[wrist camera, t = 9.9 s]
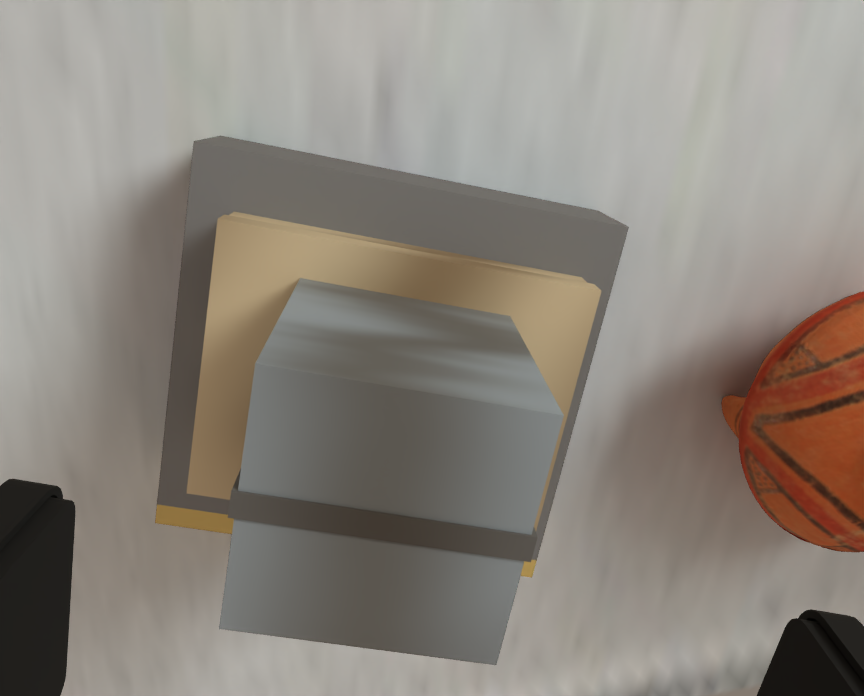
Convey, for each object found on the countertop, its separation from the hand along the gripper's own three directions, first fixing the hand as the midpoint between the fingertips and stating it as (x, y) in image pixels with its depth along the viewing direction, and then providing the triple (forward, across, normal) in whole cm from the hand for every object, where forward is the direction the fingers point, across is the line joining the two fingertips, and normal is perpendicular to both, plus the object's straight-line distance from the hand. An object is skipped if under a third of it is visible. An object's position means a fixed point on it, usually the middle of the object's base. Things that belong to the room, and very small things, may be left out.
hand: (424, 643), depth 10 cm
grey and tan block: (+11, +1, 0) cm, 11 cm away
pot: (+15, -13, 0) cm, 19 cm away
